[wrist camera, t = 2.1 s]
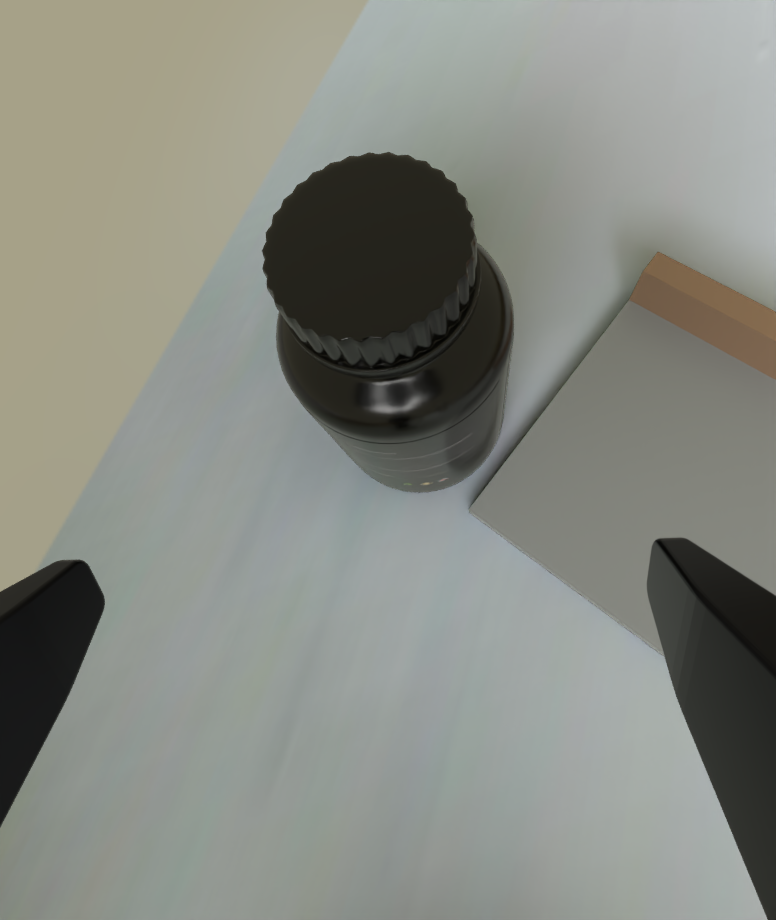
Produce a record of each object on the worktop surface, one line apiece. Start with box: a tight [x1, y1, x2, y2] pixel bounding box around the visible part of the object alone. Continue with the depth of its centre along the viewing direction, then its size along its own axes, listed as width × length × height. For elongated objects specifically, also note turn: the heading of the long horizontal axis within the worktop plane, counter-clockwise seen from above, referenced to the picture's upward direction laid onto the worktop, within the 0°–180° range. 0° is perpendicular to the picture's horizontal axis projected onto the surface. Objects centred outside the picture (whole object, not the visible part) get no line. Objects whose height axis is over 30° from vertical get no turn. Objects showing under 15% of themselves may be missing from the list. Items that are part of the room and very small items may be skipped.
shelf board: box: [469, 252, 776, 657], centre depth 19 cm, size 12×14×3 cm
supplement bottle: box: [262, 152, 514, 493], centre depth 18 cm, size 7×7×12 cm
